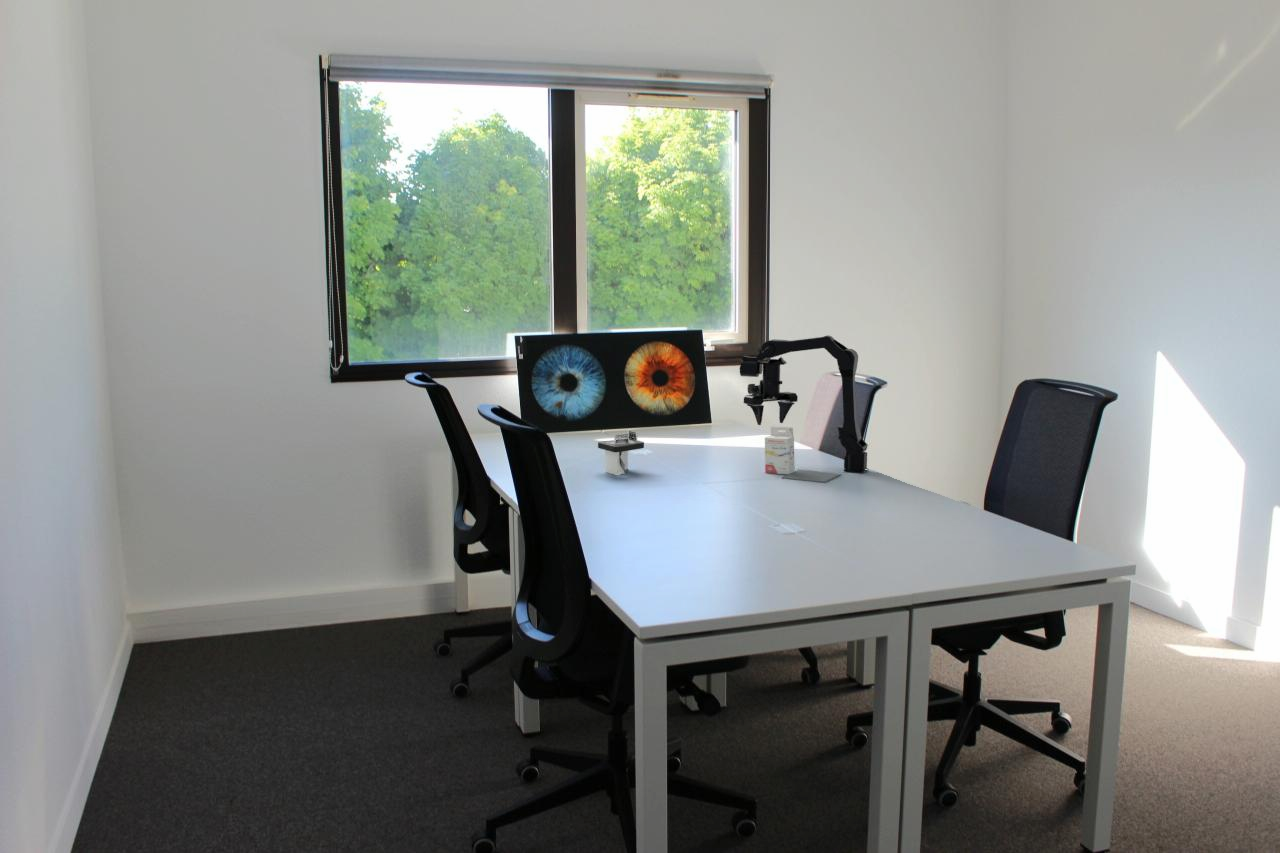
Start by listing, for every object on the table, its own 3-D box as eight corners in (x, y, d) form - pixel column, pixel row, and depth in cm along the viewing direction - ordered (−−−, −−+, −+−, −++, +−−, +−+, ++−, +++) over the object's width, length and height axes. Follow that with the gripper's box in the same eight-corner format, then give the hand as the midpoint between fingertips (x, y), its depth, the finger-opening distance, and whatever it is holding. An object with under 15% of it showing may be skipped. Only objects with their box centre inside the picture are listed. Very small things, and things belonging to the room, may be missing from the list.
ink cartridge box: (764, 473, 352) (763, 428, 350) (771, 470, 356) (770, 426, 355) (789, 474, 348) (787, 429, 346) (795, 472, 352) (794, 426, 350)
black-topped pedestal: (607, 485, 336) (607, 442, 334) (565, 471, 357) (564, 431, 355) (681, 475, 351) (681, 434, 349) (636, 462, 372) (636, 424, 370)
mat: (840, 475, 349) (840, 473, 349) (825, 482, 337) (825, 481, 337) (798, 470, 356) (798, 469, 356) (781, 478, 344) (781, 476, 344)
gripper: (778, 373, 373) (777, 418, 376) (734, 376, 364) (733, 422, 366) (799, 377, 364) (797, 423, 366) (754, 380, 354) (753, 427, 357)
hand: (770, 424), depth 364 cm, fingers open, 9 cm apart
